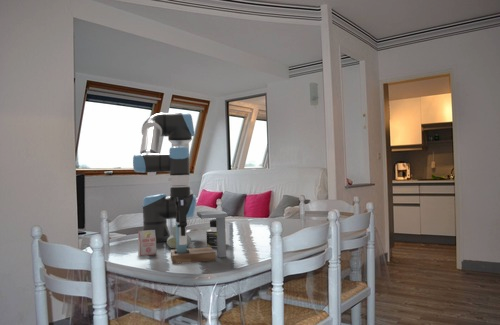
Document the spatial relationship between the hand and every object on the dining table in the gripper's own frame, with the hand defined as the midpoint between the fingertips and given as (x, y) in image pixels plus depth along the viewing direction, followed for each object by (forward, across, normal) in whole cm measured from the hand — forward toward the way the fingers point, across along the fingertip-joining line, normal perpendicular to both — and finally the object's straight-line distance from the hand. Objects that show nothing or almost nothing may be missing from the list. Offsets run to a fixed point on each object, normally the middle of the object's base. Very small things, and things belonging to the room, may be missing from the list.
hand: (181, 241), depth 152 cm
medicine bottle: (+7, -25, +18) cm, 31 cm away
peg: (+7, 0, 0) cm, 7 cm away
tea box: (+7, -17, -13) cm, 22 cm away
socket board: (+7, 0, +4) cm, 8 cm away
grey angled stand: (+7, 0, +12) cm, 14 cm away
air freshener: (+7, -27, +1) cm, 28 cm away
